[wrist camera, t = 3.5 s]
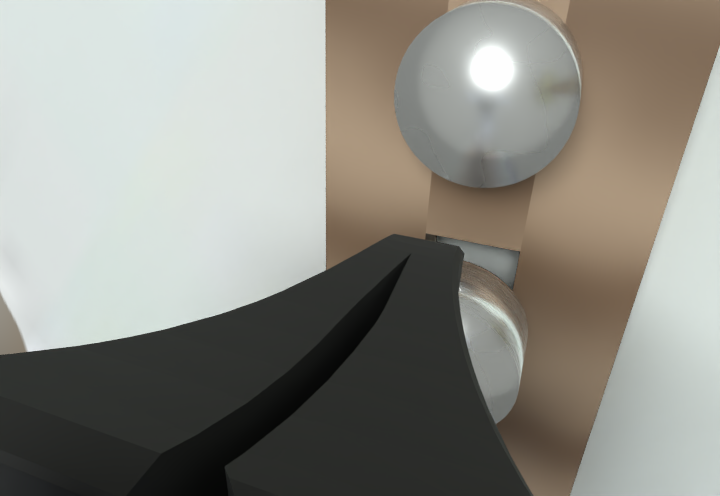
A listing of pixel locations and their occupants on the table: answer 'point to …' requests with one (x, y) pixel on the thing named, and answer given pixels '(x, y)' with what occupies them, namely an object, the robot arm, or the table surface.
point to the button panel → (532, 192)
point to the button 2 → (489, 92)
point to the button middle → (493, 336)
